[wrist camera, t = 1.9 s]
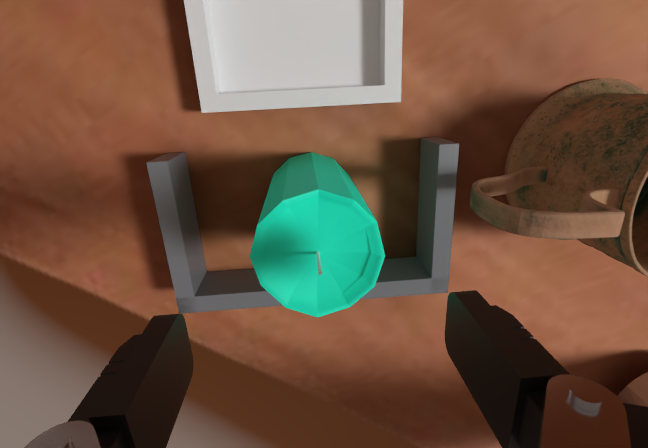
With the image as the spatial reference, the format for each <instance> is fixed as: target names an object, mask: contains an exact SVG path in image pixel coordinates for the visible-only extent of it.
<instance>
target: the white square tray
mask: <svg viewBox="0 0 648 448" xmlns="http://www.w3.org/2000/svg"><path fill="white" fill-rule="evenodd" d="M184 5H185V11H186V17H187V24H188V30H189V36H190V42H191V49H192V55H193V61H194V68H195V74H196V80H197V86H198V93H199V99H200V105H201V111H202V113H207V112H226V111H244V110H262V109H280V108H298V107H316V106H334V105H353V104H371V103H389V102H401V71H402V25H403V0H184Z"/></svg>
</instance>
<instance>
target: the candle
mask: <svg viewBox="0 0 648 448" xmlns="http://www.w3.org/2000/svg"><path fill="white" fill-rule="evenodd" d="M384 258H385V253H384V249H383V244H382V240H381V236H380V232H379V228H378V224H377V221H376V219H375V218H374V216H373V214H372V213H371V211H370V209H369V208H368V206H367V204H366V203H365V201H364V199H363V198H362V196H361V195H360V193H359V191H358V190H357V188H356V186H355V185H354V183H353V181H352V180H351V178H350V176H349V175H348V173H347V172H346V171H345V170H344V169H343V168H342V167H341V166H340V165H339V164H338V163H337V162H336V161H335V160H334V159H333V158H330V157H327V156H323V155H320V154H316V153H312V152H310V153H306V154H302V155H298V156H295V157H291V158H289V159H288V160H287V161H286V162H285V163H284V164H283V165H282V166H281V167H280V168H279V169H278V170H277V171H276V172H275V173H274V174H273V177H272V180H271V183H270V186H269V190H268V193H267V196H266V199H265V202H264V205H263V208H262V212H261V215H260V218H259V221H258V224H257V228H256V232H255V237H254V241H253V245H252V249H251V253H250V259H251V261H252V264H253V267H254V269H255V272H256V274H257V277H258V280H259V282H260V285H261V286H262V287H263V288H264V289H265V290H266V291H268V292H269V293H270V294H271V295H272V296H273V297H274V298H275V299H276V300H278V301H279V302H280V303H281V304H282V305H283V306H284V307H285V308H289V309H292V310H295V311H299V312H302V313H305V314H308V315H312V316H315V317H320V316H324V315H327V314H330V313H333V312H336V311H339V310H342V309H346V308H349V307H351V306H352V305H353V304H354V303H355V302H357V301H358V300H359V299H360V298H361V297H363V296H364V295H365V294H366V293H368V292H369V291H370V290H371V289H372V288H374V287H375V284H376V281H377V278H378V276H379V273H380V270H381V267H382V264H383V261H384Z"/></svg>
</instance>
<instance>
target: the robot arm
mask: <svg viewBox="0 0 648 448" xmlns="http://www.w3.org/2000/svg"><path fill="white" fill-rule="evenodd" d="M445 343H446V348H447V351H448V354H449V356H450V358H451V360H452V361H453V363H454V365H455V367H456V368H457V370H458V372H459V373H460V375H461V377H462V379H463V380H464V382H465V384H466V386H467V387H468V389H469V391H470V393H471V394H472V396H473V398H474V399H475V401H476V403H477V405H478V406H479V408H480V410H481V412H482V413H483V415H484V417H485V419H486V420H487V422H488V424H489V425H490V427H491V429H492V431H493V432H494V434H495V436H496V438H497V439H498V441H499V443H500V445H501V446H502V448H648V372H646V373H645V374H643V375H641V376H639V377H638V378H636V379H635V380H633V381H632V382H631V383H629V384H628V385H627V386H626V387H625V388H624V389H623V390H622V391H621V392H620V393H619V395H618V396H616V395H615V394H614V393H612V392H611V391H610V390H608V389H607V388H605V387H604V386H602V385H600V384H599V383H597V382H595V381H592V380H590V379H587V378H584V377H581V376H576V375H570V374H569V373H568V372H567V371H566V370H565V369H564V368H563V367H562V366H561V365H560V364H559V363H558V362H557V361H556V360H555V359H554V357H553V356H552V355H551V354H550V353H549V352H548V351H547V350H546V349H545V348H544V347H543V346H542V345H541V344H540V343H539V342H538V341H537V340H536V339H534V338H533V336H532V335H531V334H530V333H529V332H528V331H527V329H524V326H523V325H522V324H521V323H520V322H519V321H518V320H517V319H516V318H515V317H514V316H513V315H512V314H510V313H508V312H507V311H505V310H503V309H501V308H500V307H498V306H496V305H495V306H490V305H489V304H488V302H487V301H486V300H485V299H484V298H483V297H482V296H481V295H480V294H479V293H478V292H477V291H475V290H474V291H462V292H451V293H450V294H449V296H448V301H447V313H446V326H445ZM192 372H193V355H192V351H191V346H190V341H189V337H188V332H187V328H186V323H185V319H184V317H183V315H182V314H171V315H159V316H154V317H153V318H152V319H151V320H150V322H149V324H148V325H147V327H146V328H145V330H144V332H143V333H142V334H140V335H134V336H133V337H132V338H130V339H129V340H128V341H127V342H125V343H124V344H123V345H122V346H120V347H119V348H118V350H117V351H116V353H115V354H114V355H113V357H112V358H111V360H110V361H109V365H107V366H106V367H105V368H104V370H103V371H102V373H101V376H100V377H98V379H97V380H96V381H95V383H94V384H93V386H92V387H91V389H90V390H89V392H88V393H87V394H86V396H85V398H84V399H83V400H82V402H81V403H80V405H79V406H78V407H77V409H76V410H75V412H74V413H73V415H72V416H71V418H70V419H69V420H68V422H66V423H63V424H60V425H57V426H55V427H53V428H51V429H49V430H47V431H45V432H43V433H42V434H40V435H39V436H37V437H36V438H35V439H33V440H32V441H31V442H30V443H29V444H28V445H27V446H26V447H24V448H166V446H167V443H168V440H169V438H170V435H171V432H172V429H173V427H174V424H175V421H176V418H177V415H178V413H179V410H180V408H181V405H182V402H183V399H184V397H185V394H186V391H187V389H188V386H189V383H190V380H191V377H192Z"/></svg>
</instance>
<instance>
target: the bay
mask: <svg viewBox="0 0 648 448" xmlns="http://www.w3.org/2000/svg"><path fill="white" fill-rule="evenodd" d="M458 154H459V143H456V142H453V141H450V140H446V139H443V138H440V137H428V138H421V150H420V174H419V198H418V223H417V247H416V257H404V258H390V259H384V261H383V264H382V267H381V270H380V273H379V276H378V278H377V281H376V284H375V287H374V288H372V289H371V290H370V291H369V292H368V293H366V294H365V295H364V296H363V297H361V298H360V299H370V298H382V297H395V296H408V295H420V294H433V293H446V292H448V283H449V270H450V257H451V244H452V231H453V218H454V205H455V193H456V180H457V167H458ZM146 164H147V169H148V173H149V178H150V182H151V187H152V191H153V196H154V200H155V205H156V210H157V214H158V219H159V223H160V228H161V232H162V237H163V241H164V246H165V250H166V255H167V260H168V264H169V269H170V273H171V278H172V282H173V287H174V291H175V296H176V300H177V305H178V310H179V314H180V313H193V312H205V311H218V310H231V309H243V308H256V307H269V306H281V305H282V304H281V303H280V302H279V301H278V300H276V299H275V298H274V297H273V296H272V295H271V294H270V293H269V292H268V291H266V290H265V289H264V288H263V287H262V286H261V285H260V282H259V280H258V277H257V274H256V272H255V269H242V270H229V271H215V272H207V269H206V264H205V258H204V253H203V247H202V242H201V236H200V231H199V225H198V220H197V214H196V209H195V203H194V198H193V192H192V187H191V181H190V176H189V170H188V164H187V159H186V153H185V152H177V153H166V154H164V155H162V156H159V157H157V158H155V159H153V160H151V161H148V162H146Z"/></svg>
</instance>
